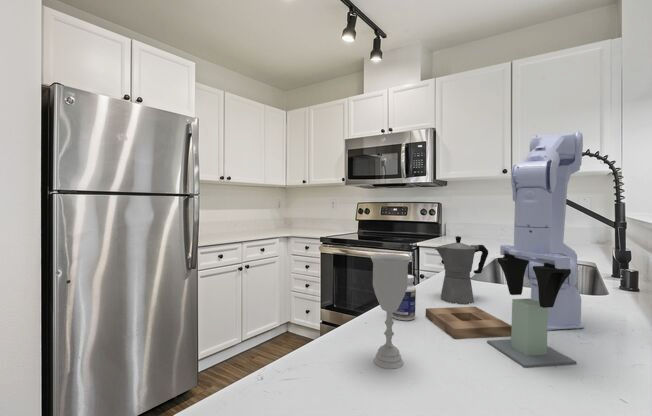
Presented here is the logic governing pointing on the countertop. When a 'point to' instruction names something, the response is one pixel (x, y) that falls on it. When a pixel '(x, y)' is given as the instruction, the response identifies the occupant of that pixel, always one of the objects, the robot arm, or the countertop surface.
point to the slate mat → (531, 361)
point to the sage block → (529, 327)
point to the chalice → (389, 300)
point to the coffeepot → (459, 270)
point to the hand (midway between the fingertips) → (530, 300)
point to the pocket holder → (468, 322)
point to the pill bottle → (407, 303)
